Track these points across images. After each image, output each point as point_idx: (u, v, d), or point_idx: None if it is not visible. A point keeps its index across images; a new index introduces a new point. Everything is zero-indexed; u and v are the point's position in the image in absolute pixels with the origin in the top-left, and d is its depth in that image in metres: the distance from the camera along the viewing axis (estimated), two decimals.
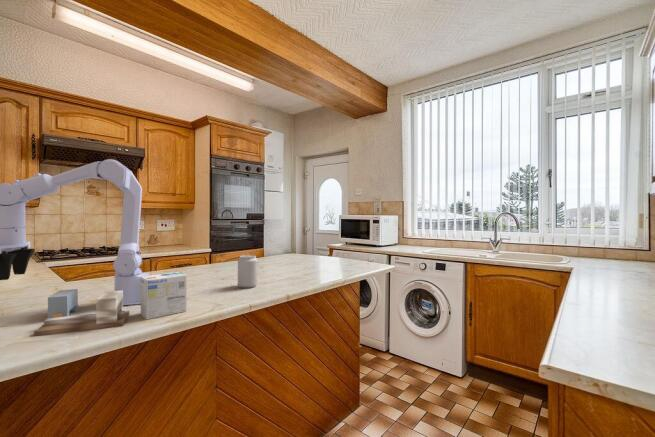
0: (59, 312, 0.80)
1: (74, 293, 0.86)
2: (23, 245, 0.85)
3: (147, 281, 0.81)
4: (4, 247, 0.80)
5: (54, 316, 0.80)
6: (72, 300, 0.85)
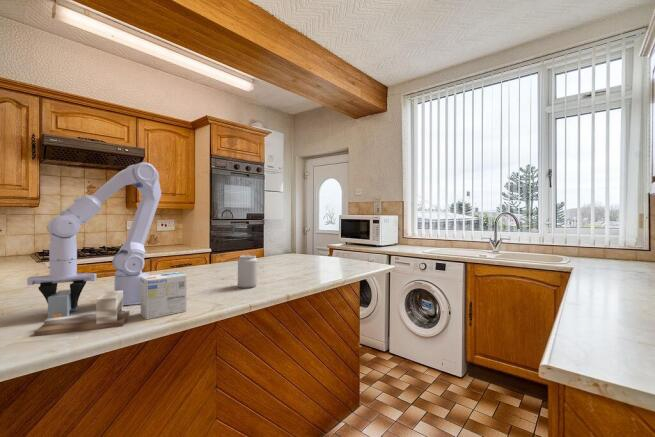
0: (59, 312, 0.80)
1: None
2: (55, 279, 0.81)
3: (147, 281, 0.81)
4: (34, 279, 0.80)
5: (54, 316, 0.80)
6: None
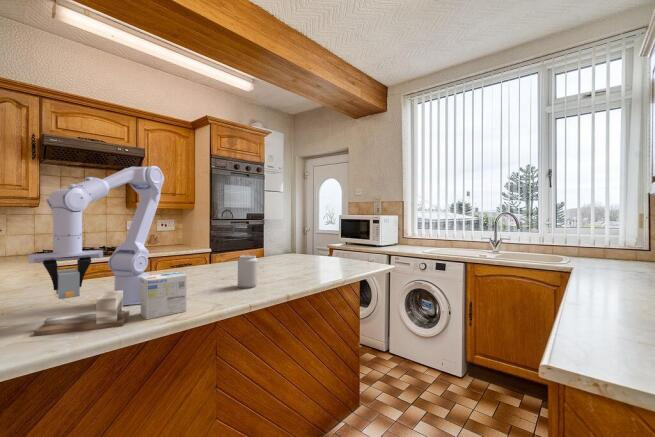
0: (71, 290, 0.76)
1: None
2: (65, 255, 0.76)
3: (147, 281, 0.81)
4: (38, 256, 0.74)
5: (67, 294, 0.75)
6: None
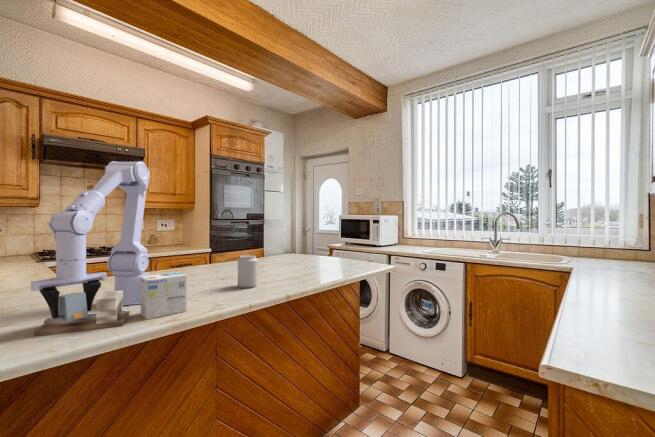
0: (79, 311, 0.74)
1: None
2: (72, 280, 0.74)
3: (147, 281, 0.81)
4: (43, 283, 0.70)
5: (76, 315, 0.73)
6: None
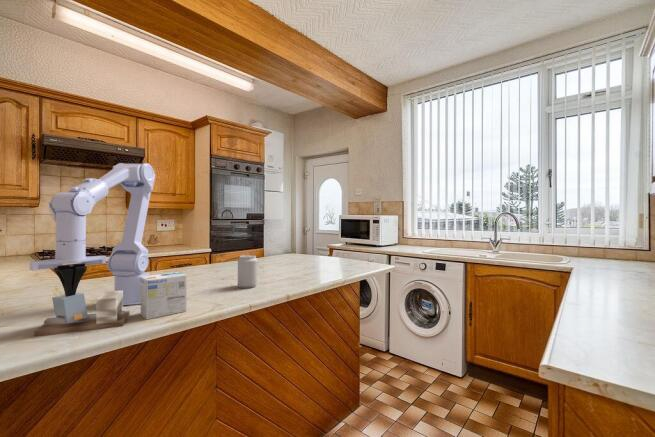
0: (78, 312, 0.74)
1: None
2: (71, 261, 0.73)
3: (147, 281, 0.81)
4: (42, 263, 0.70)
5: (75, 317, 0.73)
6: None
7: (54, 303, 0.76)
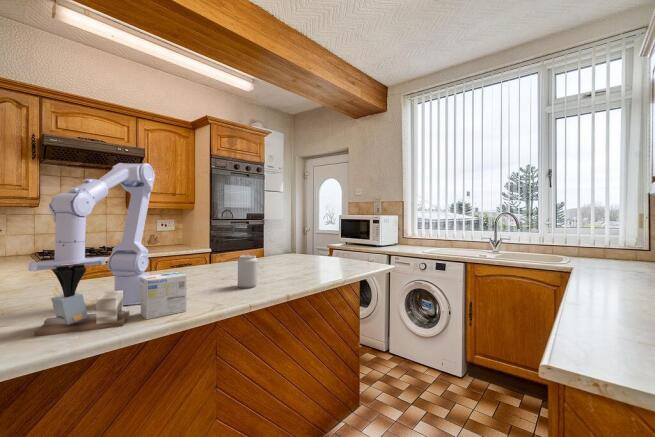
0: (78, 313, 0.74)
1: None
2: (70, 262, 0.73)
3: (147, 281, 0.81)
4: (41, 264, 0.70)
5: (75, 318, 0.73)
6: None
7: (53, 303, 0.76)
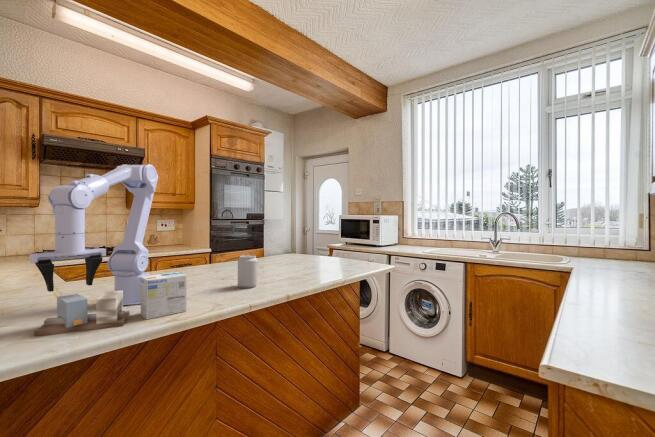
0: (79, 317, 0.74)
1: None
2: (70, 254, 0.74)
3: (147, 281, 0.81)
4: (41, 255, 0.71)
5: (75, 322, 0.73)
6: None
7: (58, 303, 0.76)
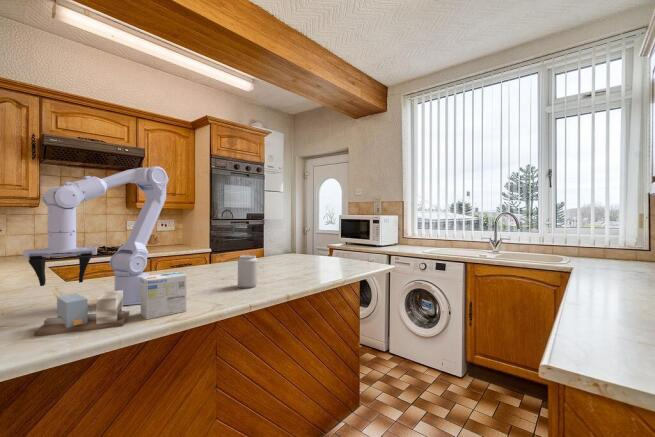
0: (79, 317, 0.74)
1: None
2: (56, 251, 0.78)
3: (147, 281, 0.81)
4: (32, 252, 0.76)
5: (75, 322, 0.73)
6: None
7: (58, 303, 0.76)
